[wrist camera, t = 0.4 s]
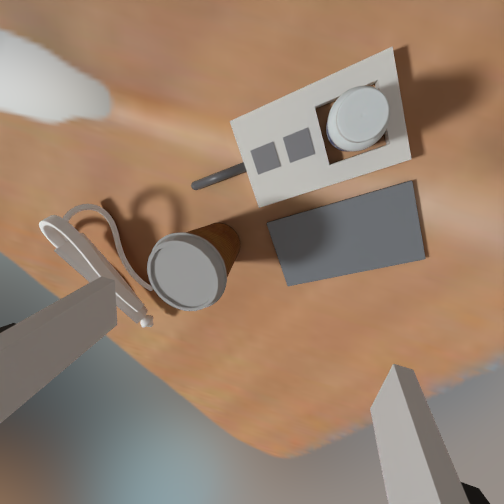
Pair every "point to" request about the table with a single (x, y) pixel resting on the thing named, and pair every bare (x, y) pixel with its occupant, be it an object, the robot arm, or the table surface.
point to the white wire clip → (95, 259)
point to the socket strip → (312, 136)
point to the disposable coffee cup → (193, 266)
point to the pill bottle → (358, 118)
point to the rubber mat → (349, 236)
